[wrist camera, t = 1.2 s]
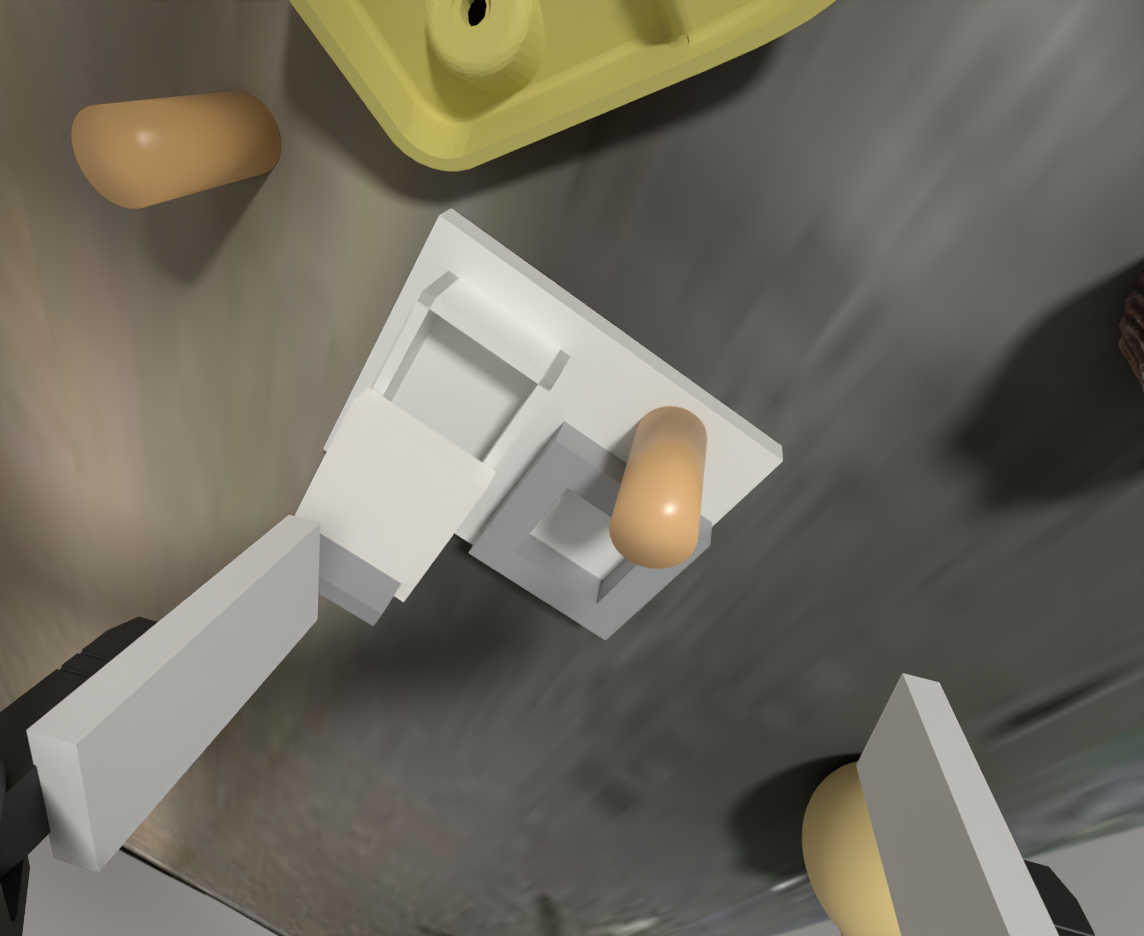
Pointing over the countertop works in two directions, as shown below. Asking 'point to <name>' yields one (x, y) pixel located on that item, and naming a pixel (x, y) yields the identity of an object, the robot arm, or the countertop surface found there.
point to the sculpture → (846, 858)
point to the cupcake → (1134, 329)
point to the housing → (561, 429)
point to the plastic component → (526, 62)
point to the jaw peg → (173, 145)
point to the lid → (386, 504)
